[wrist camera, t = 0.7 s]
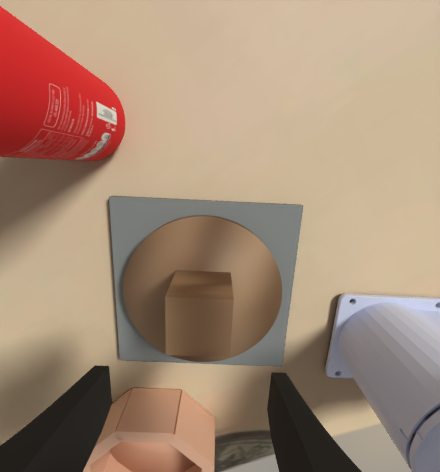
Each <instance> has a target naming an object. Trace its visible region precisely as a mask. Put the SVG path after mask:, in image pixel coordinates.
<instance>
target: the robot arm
mask: <svg viewBox="0 0 440 472" xmlns="http://www.w3.org/2000/svg"><path fill="white" fill-rule="evenodd" d="M351 299H354V300H353V301H352V302H349V301H350V300H351ZM437 303H438V304H437ZM436 304H437V305H436ZM337 371H338V372H337ZM325 372H326V374H327V376H328V377H331V378H353V379H354V380H355V382H356V383H357V385H358V387H359V388H360V390H361V391H362V393H363V395H364V396H365V398H366V399H367V401H368V402H369V404H370V406H371V407H372V409H373V410H374V412H375V414H376V415H377V417H378V418H379V420H380V421H381V423H382V425H383V426H384V428H385V429H386V431H387V433H388V434H389V436H390V437H391V439H392V440H393V442H394V444H395V445H396V447H397V448H398V450H399V451H400V453H401V455H402V456H403V458H404V459H405V461H406V462H407V464H408V466H409V467H410V469H411V470H412V472H440V298H433V297H409V296H386V295H362V294H342V295H341V296H340V297H339V299H338V304H337V309H336V315H335V320H334V325H333V331H332V336H331V342H330V347H329V352H328V358H327V363H326V368H325ZM111 404H112V398H111V386H110V374H109V366H94V367H93V368H92V369H91V370H90V371H88V372H87V373H86V374H85V375H84V376H83V377H82V378H81V379H80V380H79V381H78V382H76V383H75V384H74V385H73V386H72V387H71V388H70V389H69V390H68V391H67V392H65V393H64V394H63V395H62V396H61V397H60V398H59V399H57V400H56V401H55V402H54V403H53V404H52V405H51V406H50V407H48V408H47V409H46V410H45V411H44V412H43V413H41V414H40V415H39V416H38V417H36V418H35V419H34V420H33V421H32V422H30V423H29V424H28V425H27V426H26V427H24V428H23V429H22V430H21V431H19V432H18V433H17V434H15V435H14V436H13V437H12V438H10V439H9V440H8V441H6V442H5V443H4V444H2V445H1V446H0V472H83V470H84V468H85V466H86V464H87V462H88V460H89V458H90V456H91V454H92V451H93V449H94V447H95V445H96V443H97V441H98V439H99V436H100V434H101V432H102V430H103V427H104V424H105V422H106V419H107V416H108V413H109V410H110V407H111ZM267 410H268V417H269V425H270V432H271V438H272V442H273V447H274V451H275V455H276V459H277V464H278V468H279V472H361V470H360V469H359V468H358V467H357V466H356V465H355V464H354V463H353V462H352V461H351V459H350V458H349V457H348V456H347V455H346V454H345V453H344V451H343V450H342V449H341V448H340V447H339V446H338V444H337V443H336V442H335V441H334V440H333V438H332V437H331V436H330V435H329V433H328V432H327V431H326V430H325V428H324V427H323V426H322V424H321V423H320V422H319V420H318V419H317V418H316V416H315V415H314V414H313V412H312V411H311V409H310V408H309V407H308V405H307V404H306V402H305V401H304V400H303V398H302V397H301V395H300V394H299V392H298V391H297V389H296V388H295V386H294V385H293V383H292V381H291V380H290V378H289V377H288V375H287V374H286V373H273V372H272V375H271V383H270V391H269V400H268V408H267Z"/></svg>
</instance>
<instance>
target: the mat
mask: <svg viewBox="0 0 440 472" xmlns="http://www.w3.org/2000/svg"><path fill="white" fill-rule="evenodd" d="M109 205H110V220H111V236H112V251H113V266H114V281H115V296H116V311H117V327H118V342H119V357H120V360H125V361H150V362H176V363H202V364H227V365H253V366H279V367H282V362H283V354H284V347H285V339H286V332H287V324H288V316H289V309H290V301H291V294H292V286H293V279H294V271H295V264H296V256H297V249H298V241H299V234H300V226H301V218H302V211H303V206H302V205H295V204H274V203H253V202H232V201H210V200H189V199H168V198H147V197H126V196H110V197H109ZM194 215H210V216H218V217H222V218H226V219H229V220H232V221H234V222H237V223H239V224H240V225H242V226H244V227H246V228H247V229H249V230H250V231H251V232H253V233H254V234H255V235H256V236H257V237H258V238H259V239H260V240H262V242H263V243H264V244H265V245H266V247H267V248H268V250H269V251H270V253H271V255H272V256H273V258H274V260H275V262H276V264H277V266H278V269H279V272H280V276H281V280H282V301H281V306H280V310H279V313H278V316H277V318H276V320H275V322H274V324H273V326H272V327H271V329H270V330H269V332H268V333H267V334H266V335H265V336H264V337H263V338H262V340H260V341H259V342H258V343H257V344H256V345H255V346H253V347H252V348H250V349H249V350H247V351H245V352H243V353H241V354H240V355H237V356H235V357H232V358H229V359H225V360H221V361H214V362H193V361H187V360H182V359H179V358H176V357H173V356H170V355H166V353H164V352H162V351H160V350H159V349H157V348H155V347H154V346H153V345H151V344H150V343H149V342H148V341H147V340H146V339H145V338H144V337H143V336H142V335H141V334H140V333H139V332H138V331H137V329H136V328H135V326H134V325H133V323H132V321H131V320H130V318H129V315H128V313H127V310H126V307H125V303H124V297H123V280H124V274H125V271H126V268H127V264H128V262H129V260H130V258H131V256H132V254H133V253H134V252H135V250H136V249H137V247H138V246H139V245H140V244H141V243H142V242H143V241H144V240H145V239H146V238H147V237H148V236H149V235H150V234H151V233H152V232H154V231H155V230H156V229H158V228H159V227H161V226H162V225H164V224H166V223H168V222H171V221H173V220H175V219H179V218H182V217H187V216H194Z"/></svg>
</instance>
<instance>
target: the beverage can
mask: <svg viewBox="0 0 440 472" xmlns="http://www.w3.org/2000/svg"><path fill="white" fill-rule="evenodd" d="M124 132H125V115H124V111H123V108H122V105H121V103H120V101H119V99H118V97H117V95H116V94H115V93H114V91H113V90H112V89H111V88H110V87H109V86H108V85H107V84H106V83H104V82H103V81H102V80H100V79H99V78H98V77H96V76H95V75H93V74H92V73H91V72H89V71H88V70H87V69H85V68H84V67H83V66H81V65H80V64H78V63H77V62H76V61H74V60H73V59H72V58H70V57H69V56H68V55H66V54H65V53H63V52H62V51H61V50H59V49H58V48H57V47H55V46H54V45H53V44H51V43H50V42H48V41H47V40H46V39H44V38H43V37H42V36H40V35H39V34H38V33H36V32H35V31H33V30H32V29H31V28H29V27H28V26H27V25H25V24H24V23H23V22H21V21H20V20H18V19H17V18H16V17H14V16H13V15H12V14H10V13H9V12H8V11H6V10H5V9H3V8H2V7H1V6H0V157H17V158H38V159H58V160H79V161H96V160H100V159H103V158H105V157H107V156H109V155H110V154H112V153H113V152H114V151H115V150H116V149H117V148H118V146H119V145H120V143H121V141H122V139H123V136H124Z"/></svg>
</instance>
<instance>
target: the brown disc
mask: <svg viewBox="0 0 440 472" xmlns="http://www.w3.org/2000/svg"><path fill="white" fill-rule="evenodd" d="M123 297H124V303H125V307H126V310H127V313H128V315H129V318H130V320H131V321H132V323H133V325H134V326H135V328H136V329H137V331H138V332H139V333H140V334H141V335H142V336H143V337H144V338H145V339H146V340H147V341H148V342H149V343H150V344H151V345H153V346H154V347H155V348H157V349H159V350H160V351H162V352H164V353H166V355H170V356H173V357H176V358H179V359H182V360H187V361H193V362H214V361H221V360H225V359H229V358H232V357H235V356H237V355H240V354H241V353H243V352H245V351H247V350H249V349H250V348H252V347H253V346H255V345H256V344H257V343H258V342H259V341H260V340H262V338H263V337H264V336H265V335H266V334H267V333H268V332H269V330H270V329H271V327H272V326H273V324H274V322H275V320H276V318H277V316H278V313H279V310H280V306H281V301H282V280H281V276H280V272H279V269H278V266H277V264H276V262H275V260H274V258H273V256H272V255H271V253H270V251H269V250H268V248H267V247H266V245H265V244H264V243H263V242H262V240H260V239H259V238H258V237H257V236H256V235H255V234H254V233H253V232H251V231H250V230H249V229H247V228H246V227H244V226H242V225H240V224H239V223H237V222H234V221H232V220H229V219H226V218H222V217H218V216H210V215H194V216H187V217H182V218H179V219H175V220H173V221H171V222H168V223H166V224H164V225H162V226H161V227H159V228H158V229H156V230H155V231H154V232H152V233H151V234H150V235H149V236H148V237H147V238H146V239H145V240H144V241H143V242H142V243H141V244H140V245H139V246H138V247H137V249H136V250H135V252H134V253H133V254H132V256H131V258H130V260H129V262H128V264H127V268H126V271H125V274H124V280H123Z"/></svg>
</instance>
